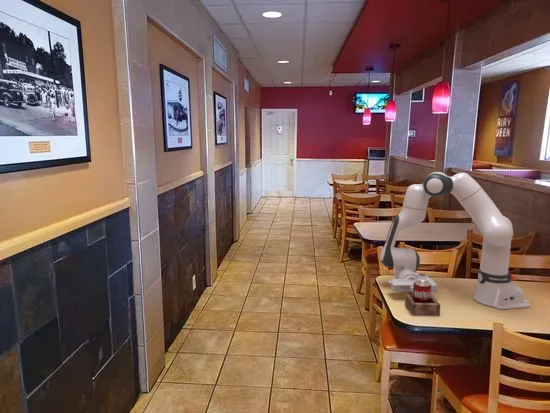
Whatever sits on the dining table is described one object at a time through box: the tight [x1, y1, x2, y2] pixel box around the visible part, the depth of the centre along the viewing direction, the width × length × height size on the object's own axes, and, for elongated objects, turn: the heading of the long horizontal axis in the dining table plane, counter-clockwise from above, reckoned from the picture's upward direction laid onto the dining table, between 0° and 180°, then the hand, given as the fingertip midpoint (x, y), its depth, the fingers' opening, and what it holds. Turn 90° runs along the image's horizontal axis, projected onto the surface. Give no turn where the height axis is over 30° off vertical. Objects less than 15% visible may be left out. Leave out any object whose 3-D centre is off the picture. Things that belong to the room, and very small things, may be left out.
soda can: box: [412, 280, 432, 303], centre depth 166 cm, size 7×7×12 cm
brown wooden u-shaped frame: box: [404, 294, 441, 317], centre depth 166 cm, size 12×10×5 cm
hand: (418, 292), depth 170 cm, fingers closed, pressing on soda can
